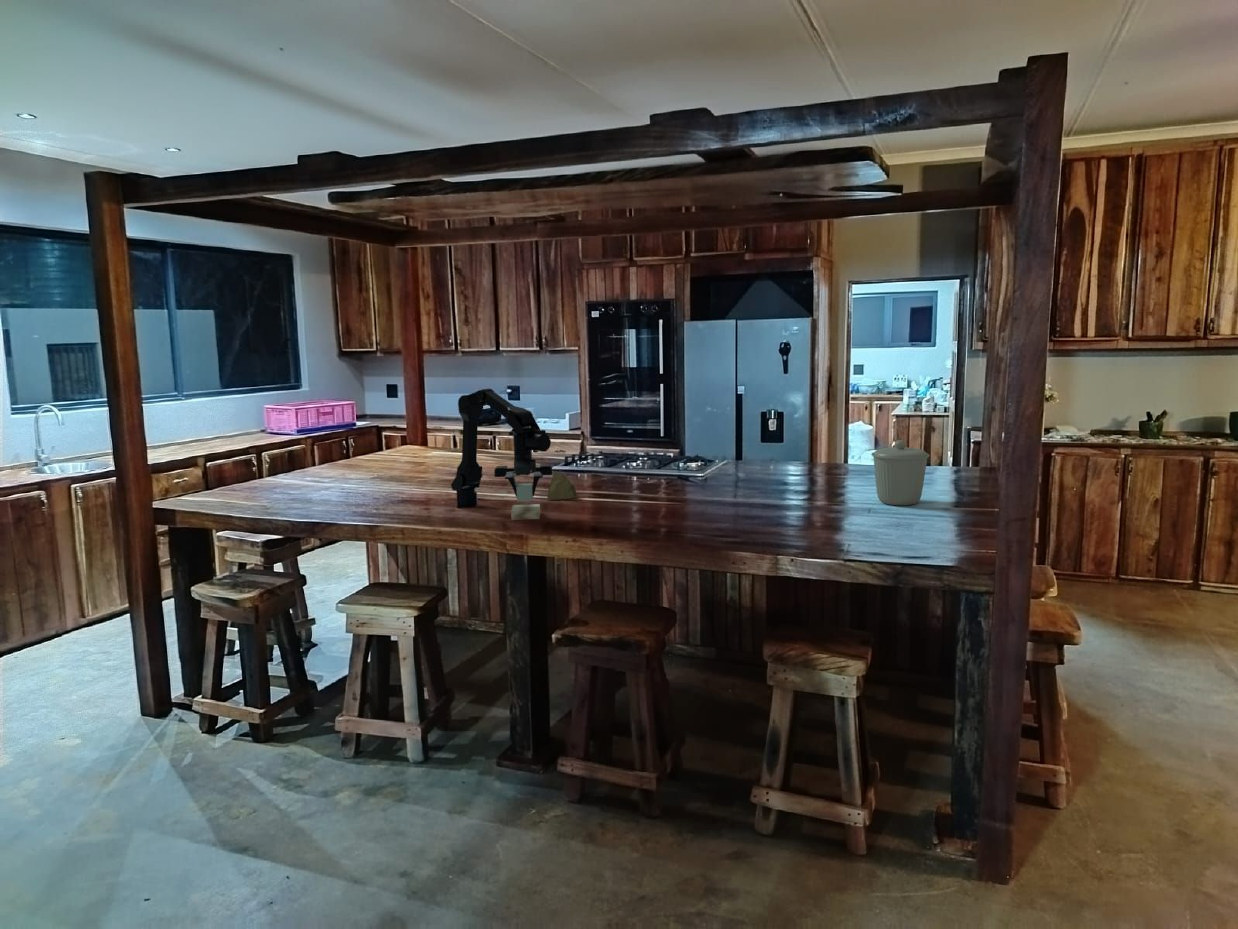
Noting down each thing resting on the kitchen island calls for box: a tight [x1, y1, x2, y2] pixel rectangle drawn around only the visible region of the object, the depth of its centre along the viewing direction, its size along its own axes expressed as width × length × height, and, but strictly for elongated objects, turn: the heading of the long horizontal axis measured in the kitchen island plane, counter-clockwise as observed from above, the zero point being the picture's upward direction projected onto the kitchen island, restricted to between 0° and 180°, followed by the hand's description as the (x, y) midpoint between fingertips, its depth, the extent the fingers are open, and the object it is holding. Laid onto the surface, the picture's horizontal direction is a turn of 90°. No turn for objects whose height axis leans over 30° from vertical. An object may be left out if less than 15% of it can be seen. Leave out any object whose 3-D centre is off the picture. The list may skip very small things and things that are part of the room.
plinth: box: [510, 503, 541, 521], centre depth 266 cm, size 9×9×3 cm
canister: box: [870, 439, 930, 507], centre depth 268 cm, size 18×18×21 cm
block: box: [516, 482, 534, 503], centre depth 265 cm, size 5×5×5 cm
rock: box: [546, 471, 579, 501], centre depth 293 cm, size 11×9×10 cm
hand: (525, 496), depth 266 cm, fingers closed on block, 5 cm apart
